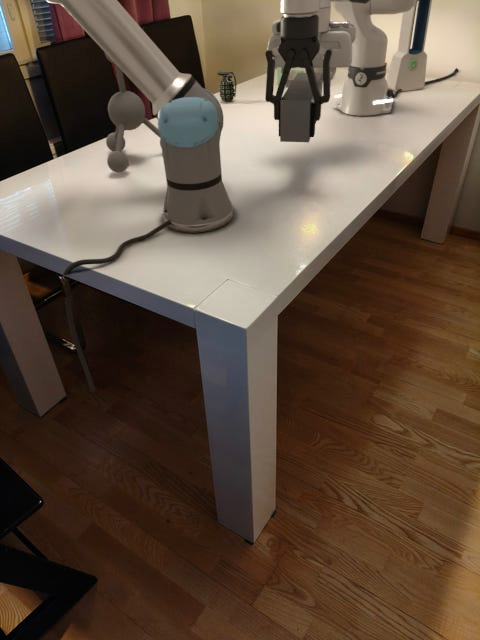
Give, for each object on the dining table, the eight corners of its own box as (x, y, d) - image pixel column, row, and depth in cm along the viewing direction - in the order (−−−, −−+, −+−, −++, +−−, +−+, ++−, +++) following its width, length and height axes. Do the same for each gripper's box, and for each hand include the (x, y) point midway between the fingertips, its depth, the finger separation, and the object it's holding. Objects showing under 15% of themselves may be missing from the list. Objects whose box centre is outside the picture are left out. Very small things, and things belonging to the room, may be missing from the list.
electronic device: (394, 92, 183) (407, -4, 164) (384, 88, 188) (396, -5, 170) (424, 88, 185) (440, -6, 166) (413, 84, 191) (428, -8, 172)
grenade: (217, 103, 183) (215, 73, 177) (221, 99, 187) (219, 70, 181) (234, 103, 181) (233, 73, 175) (238, 99, 186) (236, 70, 180)
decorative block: (300, 55, 216) (341, 58, 206) (299, 71, 220) (340, 74, 210) (268, 66, 200) (311, 70, 190) (268, 83, 204) (310, 87, 194)
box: (308, 142, 106) (310, 100, 101) (280, 141, 108) (280, 99, 102) (321, 109, 126) (323, 72, 121) (296, 109, 128) (297, 72, 122)
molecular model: (192, 164, 133) (178, 39, 115) (111, 178, 128) (83, 49, 109) (169, 139, 151) (154, 28, 132) (98, 152, 145) (72, 36, 127)
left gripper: (351, 10, 96) (341, 130, 110) (255, 13, 100) (258, 128, 114) (348, 15, 90) (339, 141, 105) (247, 18, 94) (251, 139, 109)
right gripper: (357, 19, 112) (351, 84, 120) (269, 21, 116) (270, 84, 125) (356, 23, 107) (350, 90, 116) (264, 24, 111) (265, 90, 120)
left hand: (296, 134), depth 109 cm, fingers closed on box, 6 cm apart
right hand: (308, 87), depth 120 cm, fingers open, 8 cm apart
